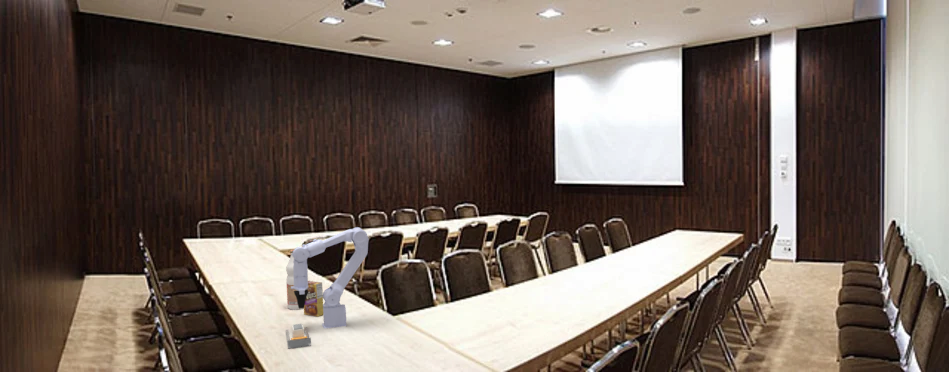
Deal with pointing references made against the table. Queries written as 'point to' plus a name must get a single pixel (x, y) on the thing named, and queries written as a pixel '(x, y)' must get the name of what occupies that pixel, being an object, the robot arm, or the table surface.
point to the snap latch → (298, 338)
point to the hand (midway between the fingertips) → (301, 307)
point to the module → (297, 330)
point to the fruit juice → (290, 282)
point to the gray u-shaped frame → (298, 340)
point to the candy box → (314, 299)
